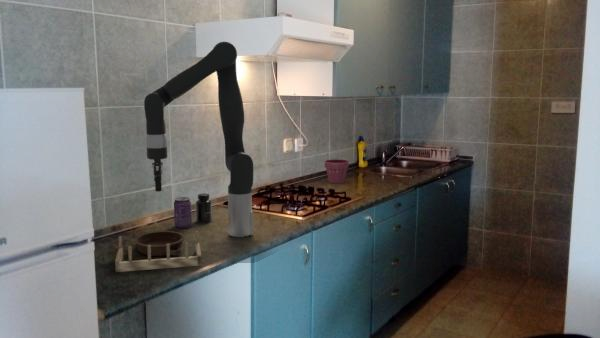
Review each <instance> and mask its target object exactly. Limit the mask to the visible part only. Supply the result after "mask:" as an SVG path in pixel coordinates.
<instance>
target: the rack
mask: <svg viewBox="0 0 600 338" xmlns="http://www.w3.org/2000/svg"><path fill="white" fill-rule="evenodd" d="M122 238H123V237H122V236H121V235H119V236H118V250H117V252H116V256H115V261H114V266H115V267H114V268H115V273H125V272H135V271H145V270H148V271H149V270H160V269H172V268H186V267H200V266H202V264H203V263H202V252H201V246H200V241H199V238H200V237H199V231H197V230H196V231H195V243H194V244H195V255H194V256H193V255H192V256H191V255H190V256H189V242H185V243H184V251H185V253H184V254H185V256H179V257H171V255H170V245H169V244H166V249H167V255H166V257H165V258H153V259H152V256H151V245H147V248H148V255H147V259H139V260H133V256H132V255H133V253H132V252H133V250H132V245H131V246H128V247H127V251H128V253H127V254H128V260H126V261H125V260H124V246H123V239H122Z"/></svg>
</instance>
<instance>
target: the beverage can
mask: <svg viewBox="0 0 600 338" xmlns="http://www.w3.org/2000/svg"><path fill="white" fill-rule="evenodd" d="M173 216H174V217H173V218H174V219H173V221H174V227H177V228H179V229H186V228H189V227H190V226H192V224H193V218H192V217H193V216H192V201H191V198H190V197H188V196H180V197H179V196H178V197H175V198H174V202H173Z"/></svg>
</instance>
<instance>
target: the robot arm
mask: <svg viewBox="0 0 600 338" xmlns="http://www.w3.org/2000/svg"><path fill="white" fill-rule="evenodd" d="M237 57H238V52H237V48H236V46H235V45H234V44H232V43H231V42H229V41H220V42H218V43H216V44H215V45H214V46H213V49H211V50H210V51H209V52H208V53H207V54H206V55H204V57H203V58H201V59H200V60H199V61H197V62H196V63H194V64H192V66H190V67H188V68H186V69H185V70H183V71H181V72H179V73H178V74H176V75H175V76H173V77H172V78H171V79H169V80H168V81H167V82H165V83H164V85H162V86H160V87H159V88H158V89H155V90H154V91H152V92H151V93H148V94H147V95H146V96H145V98H144V100H143V101H144V102H143V103H144V104H143V105H144V106H143V107H144V115H145V120H146V121H145V122H146V123H145V124H146V125H145V128H146V130H145V131H146V138H145V140H146V141H145V143H146V147H145V148H146V158H147V159H148V160H152V161H153V162H152V163H151V168H152V176H153V177H154V179H153V180H154V184H155V185H154V186H155V187H154V188H155V192H162V183H163V182H162V181H163V179H162V177H163V170H164V169H163V168H164V163H163V162H162V160H165V159H167V158H168V139H167V131H166V130H167V128H166V121H165V117H164V116H165V111H164V109H165V107H166V106H168V105H169V104H171V103H172V102H173V101H175V100H176V99H179V98H180V97H181V96H183V95H185V94H186V93H187V92H189V91H190V90H191V89H193V88H194V87H196V86H197V85H198V84H200V83H201V82H202V81H203V80H205V79H206V78H208V77H209V76H211V75H213V74H214V73H216V76H217V84H218V87H217V91H218V93H217V99H218V108H219V115H220V116H219V117H220V121H221V122H220V123H221V128H222V133H223V140H224V153H225V154H224V157H225V158H224V159H225V161H224V162H225V166H226V169H227V171H228V172H229V173H230V179H229V180H230V181H229V184H228V187H227V201H228V202H227V205H228V206H227V208H228V235H229V236H230V237H233V238H245V236H246V237H250V236H253V235H254V221H253V220H254V218H253V217H254V214H253V206H252V205H253V204H252V202H253V200H252V198H253V197H252V195H253V194H252V191H253V190H252V188H253V185H254V161H253V158H252V157H251V156H250V155H249V154H247V153H246V151H245V146H244V141H243V139H244V138H243V131H244V128H245V127H244V126H245V110H244V108H245V107H244V101H243V97H242V92H241V89H240V85H239V82H238V77H237ZM249 235H250V236H249Z"/></svg>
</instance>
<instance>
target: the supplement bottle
mask: <svg viewBox="0 0 600 338" xmlns="http://www.w3.org/2000/svg"><path fill="white" fill-rule="evenodd" d="M197 199H198V200H196V202H195V221H196V223H199V224H207V223H211V222H212V221H213V220H212V219H213V215H212V214H213V213H212V207H213V204H212V201H211V199H210V194H209V193H206V192H205V193H198V194H197Z"/></svg>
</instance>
